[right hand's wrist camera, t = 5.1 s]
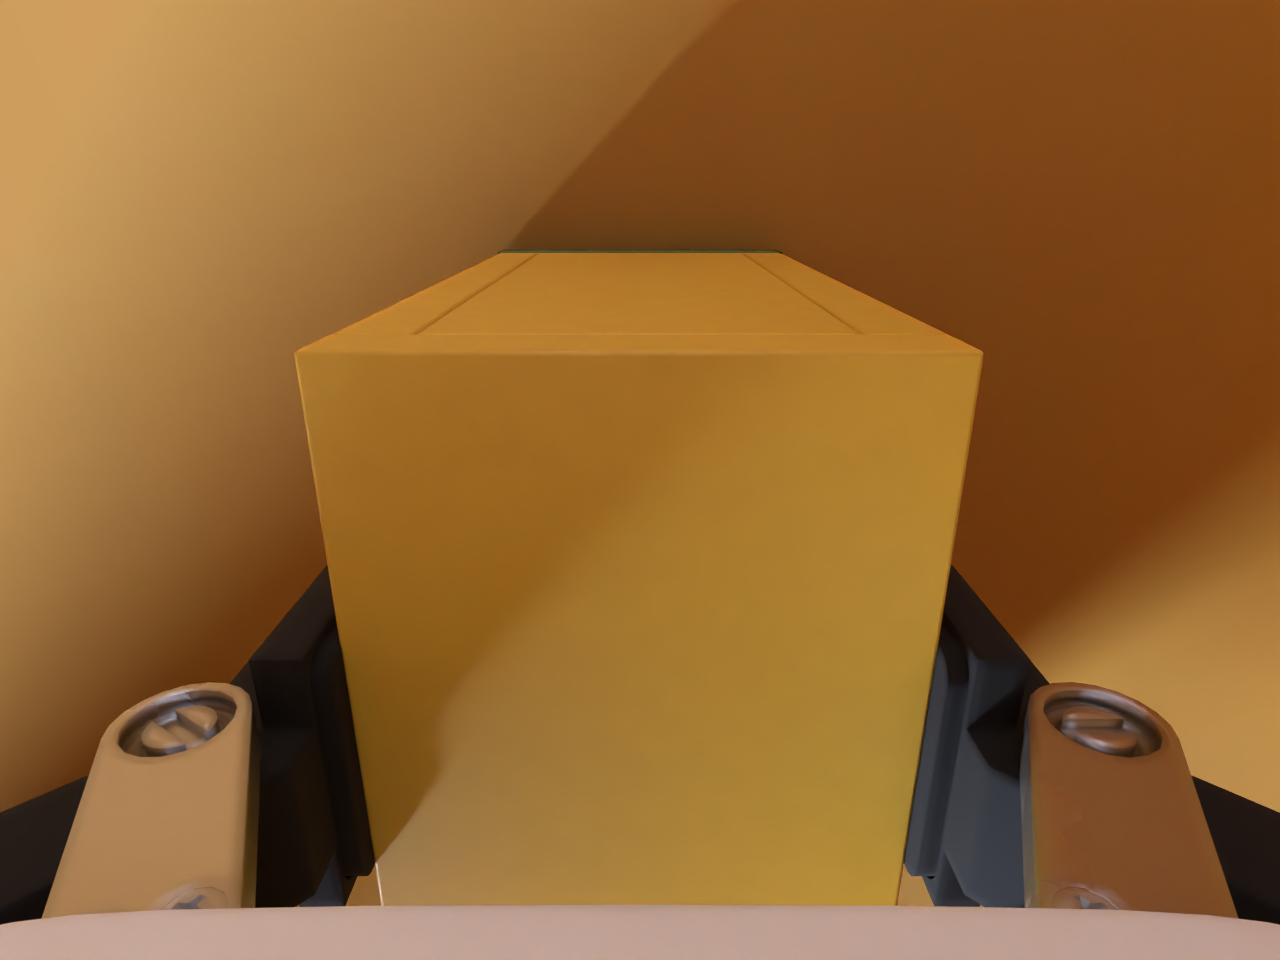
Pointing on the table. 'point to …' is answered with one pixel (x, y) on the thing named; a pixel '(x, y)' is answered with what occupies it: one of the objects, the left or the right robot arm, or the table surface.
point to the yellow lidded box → (639, 576)
